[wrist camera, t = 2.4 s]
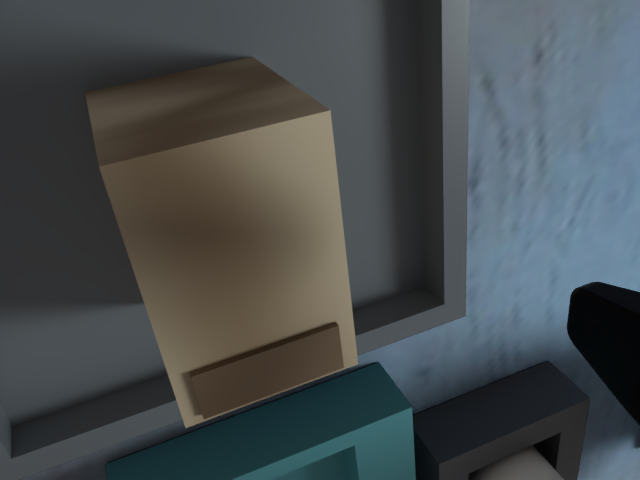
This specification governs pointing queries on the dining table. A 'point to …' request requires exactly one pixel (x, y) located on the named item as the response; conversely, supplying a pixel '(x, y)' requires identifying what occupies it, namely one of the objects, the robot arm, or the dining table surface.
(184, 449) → the teal block holder tray
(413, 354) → the dining table surface
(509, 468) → the button
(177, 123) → the block
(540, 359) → the dining table surface
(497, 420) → the button housing
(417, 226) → the grey tray
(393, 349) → the dining table surface
